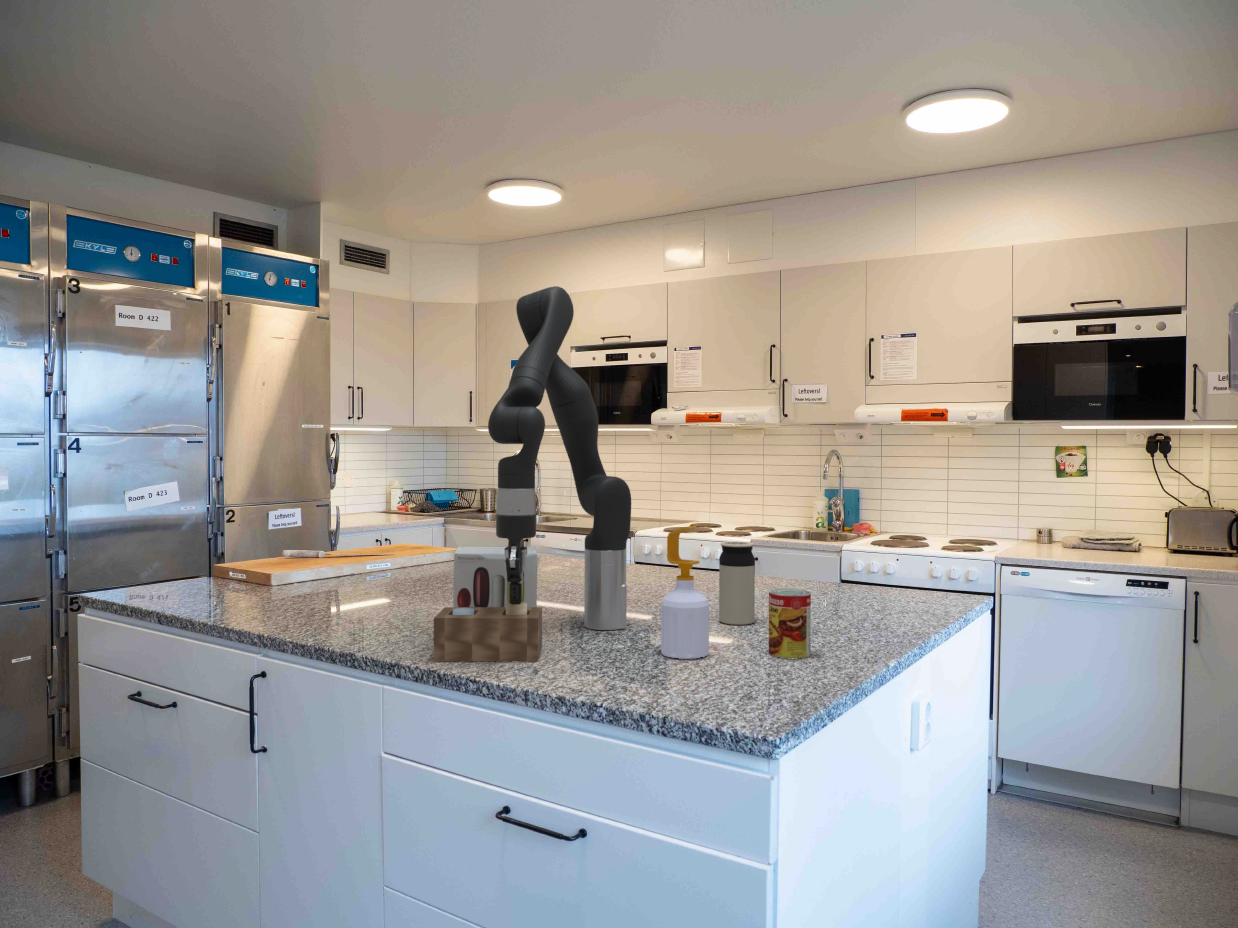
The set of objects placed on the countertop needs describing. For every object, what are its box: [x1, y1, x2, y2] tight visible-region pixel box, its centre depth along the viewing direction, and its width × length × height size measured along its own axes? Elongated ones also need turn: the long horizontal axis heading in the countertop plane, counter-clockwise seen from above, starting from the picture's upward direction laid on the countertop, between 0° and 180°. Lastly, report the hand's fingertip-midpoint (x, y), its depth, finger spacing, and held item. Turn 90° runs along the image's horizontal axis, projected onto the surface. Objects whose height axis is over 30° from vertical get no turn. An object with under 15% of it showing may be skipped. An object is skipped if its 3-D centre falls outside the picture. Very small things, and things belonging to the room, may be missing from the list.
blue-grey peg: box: [453, 608, 474, 615], centre depth 159 cm, size 4×4×8 cm
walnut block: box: [433, 606, 543, 663], centre depth 159 cm, size 19×11×8 cm, turn 91°
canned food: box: [768, 587, 812, 659], centre depth 160 cm, size 8×8×12 cm
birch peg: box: [506, 602, 527, 615], centre depth 159 cm, size 4×4×8 cm
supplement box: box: [452, 545, 538, 607], centre depth 177 cm, size 17×13×18 cm
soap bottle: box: [660, 525, 710, 660], centre depth 159 cm, size 9×9×25 cm
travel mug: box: [718, 541, 756, 626], centre depth 191 cm, size 8×8×18 cm
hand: (515, 603), depth 159 cm, fingers closed
